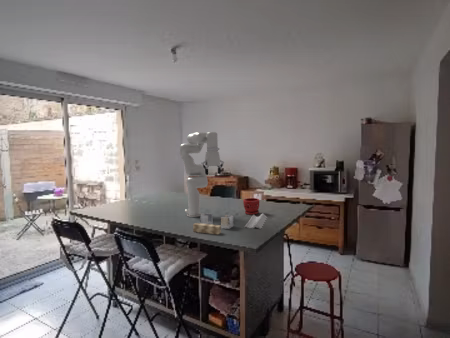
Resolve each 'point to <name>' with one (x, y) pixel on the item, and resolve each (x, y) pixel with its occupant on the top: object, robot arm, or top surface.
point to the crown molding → (256, 221)
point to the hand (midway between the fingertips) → (213, 174)
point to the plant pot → (251, 206)
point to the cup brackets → (225, 221)
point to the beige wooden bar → (207, 228)
